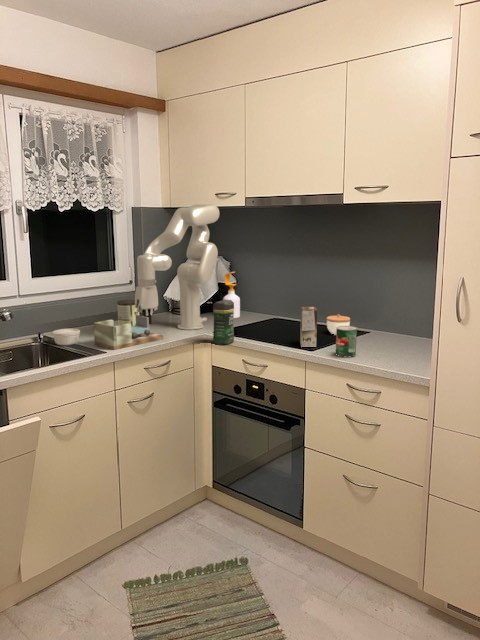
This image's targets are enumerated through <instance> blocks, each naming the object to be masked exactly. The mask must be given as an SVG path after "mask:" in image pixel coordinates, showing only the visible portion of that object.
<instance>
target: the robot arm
mask: <svg viewBox="0 0 480 640" xmlns="http://www.w3.org/2000/svg"><path fill="white" fill-rule="evenodd" d="M219 218H220V209H219V207H218V206H217V205H215V204H211V203H210V204H206V203H205V204H192V205H190V206H189V207H188V206H187V207H185V206H183V207H179V208H177V209H176V210H175V212H174V214H173V216H171V219H170V221H169V223H168V224H167V226H166V228H165V230H164V231H163V232H162V233H161V234H160V235H158V236H157V237H156V238H155V239H154V240H152V242H151V243H149V245H148V246H147V248H146V250H145V252H144V253H143V254H142V255H138V256H137V259H136V260H137V261H136V263H137V267H136V268H137V286H136V287H135V295H134V296H135V297H134V300H135V308H137V312H139V314H140V313H141V314H142V315H141V316H144V317H149V325H152V316H153V313H154V311H157V310H158V306H159V295H158V289H157V288H158V287H157V285H156V283H157V279H156V271H158V272H160V271H161V272H166V271H167V270H169V269H170V268H171V267H172V264H173V263H172V261H173V260H172V258H171V257H170V256H169V255H167V254H164V253H162V252H163V251H165V250H167V249H168V248H170V247H173V246H175V245H177V244H179V243H181V241H182V240H183V238H184V236H185V234H186V232H187V230H188V229H189V227H191V228H192V232H191V236H190V239H189V242H188V246H187V248H186V249H187V250H186V258H187V259H188V260H189V261H191V262H183V263H181V264H180V265H179V266H178V267H177V271H176V272H177V275H176V276H177V279H178V284H179V285H178V286H179V304H180V305H179V309H180V310H179V311H180V314H179V315H180V323H179V324H177V328H178V329H179V330H185V331H186V330H187V331H190V330H199V329H202V328H204V323H203V322H207V321H208V317H206V316H205V317H204V316H203V317H201V308H200V305H201V302H200V301H201V299H200V298H201V296H200V295H201V294H200V293H201V292H200V289H199V286H198V284H200V285H206V284H208V283H209V282H210V280H211V279H212V277H213V274H214V272H215V271H214V270H215V268H216V265H217V264H216V263H217V259H218V255H219V252H218V248H217V246H216V244H215V243H213V242H209V240H210V229H209V227H208V225H209V224H213V223H215V222H217V221H218V219H219ZM197 262H198V263H197Z"/></svg>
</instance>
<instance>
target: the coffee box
mask: <svg viewBox="0 0 480 640" xmlns="http://www.w3.org/2000/svg"><path fill="white" fill-rule="evenodd" d="M317 327H318V309H317V308H316V306H313V305H312V306H300V329H299V330H300V333H299V335H300V338H299V344H300V347H301V348H302V347H316V348H317V333H318V330H317V329H318V328H317Z"/></svg>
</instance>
